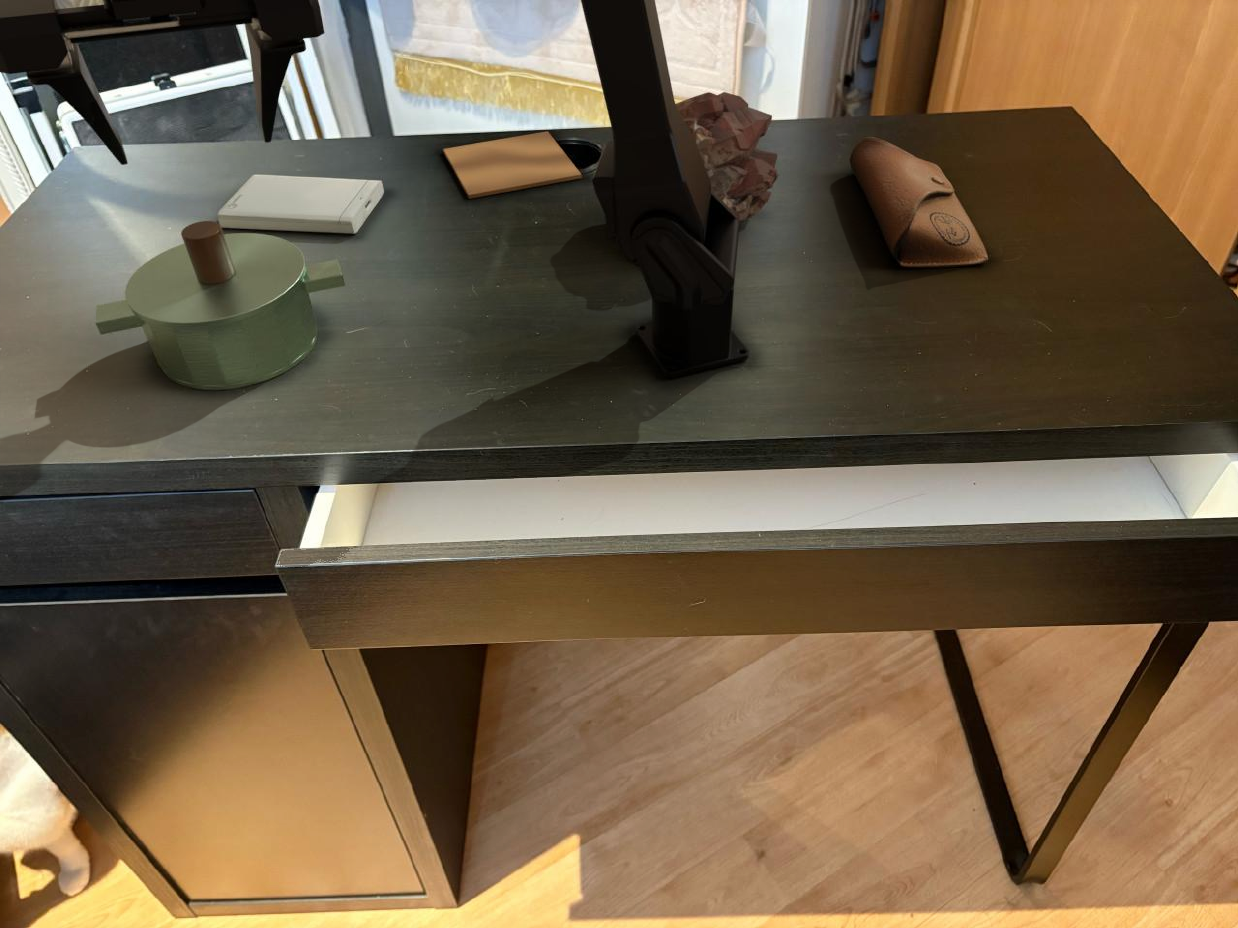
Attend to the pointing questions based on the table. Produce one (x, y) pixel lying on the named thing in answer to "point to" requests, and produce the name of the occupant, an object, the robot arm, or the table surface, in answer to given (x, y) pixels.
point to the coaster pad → (510, 164)
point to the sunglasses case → (915, 208)
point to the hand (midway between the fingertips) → (197, 151)
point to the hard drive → (301, 204)
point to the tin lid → (215, 278)
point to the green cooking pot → (233, 338)
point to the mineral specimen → (732, 149)
